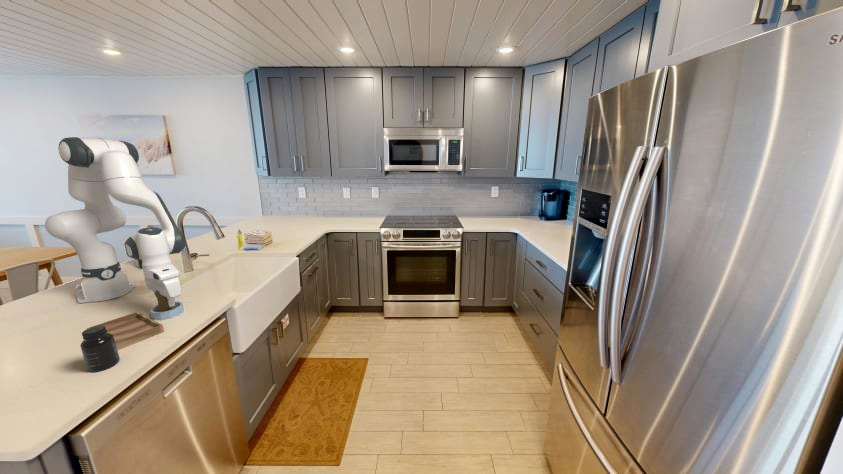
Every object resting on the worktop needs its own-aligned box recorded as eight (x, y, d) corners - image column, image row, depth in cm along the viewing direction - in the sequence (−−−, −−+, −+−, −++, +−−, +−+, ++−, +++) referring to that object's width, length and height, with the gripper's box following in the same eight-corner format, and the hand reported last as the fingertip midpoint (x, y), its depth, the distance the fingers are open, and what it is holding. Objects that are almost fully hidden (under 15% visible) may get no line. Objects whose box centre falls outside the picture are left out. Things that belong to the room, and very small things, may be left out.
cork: (167, 318, 119) (161, 292, 116) (154, 316, 120) (148, 290, 117) (181, 311, 125) (176, 285, 122) (169, 309, 126) (164, 284, 123)
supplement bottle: (102, 358, 95) (92, 323, 92) (126, 357, 96) (117, 322, 93) (80, 373, 88) (69, 336, 85) (106, 372, 89) (95, 335, 86)
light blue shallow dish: (147, 316, 120) (145, 309, 120) (176, 305, 129) (175, 299, 128) (159, 322, 116) (157, 315, 115) (188, 311, 124) (187, 304, 123)
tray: (88, 335, 107) (86, 328, 107) (139, 317, 119) (137, 311, 119) (111, 352, 98) (109, 345, 97) (164, 331, 110) (162, 325, 109)
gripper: (136, 267, 120) (144, 300, 123) (161, 277, 110) (169, 312, 114) (156, 263, 125) (162, 294, 129) (181, 272, 116) (188, 305, 119)
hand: (165, 303), depth 121 cm, fingers open, 7 cm apart
